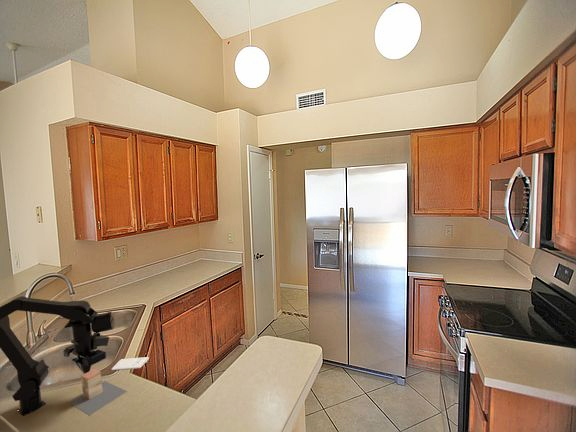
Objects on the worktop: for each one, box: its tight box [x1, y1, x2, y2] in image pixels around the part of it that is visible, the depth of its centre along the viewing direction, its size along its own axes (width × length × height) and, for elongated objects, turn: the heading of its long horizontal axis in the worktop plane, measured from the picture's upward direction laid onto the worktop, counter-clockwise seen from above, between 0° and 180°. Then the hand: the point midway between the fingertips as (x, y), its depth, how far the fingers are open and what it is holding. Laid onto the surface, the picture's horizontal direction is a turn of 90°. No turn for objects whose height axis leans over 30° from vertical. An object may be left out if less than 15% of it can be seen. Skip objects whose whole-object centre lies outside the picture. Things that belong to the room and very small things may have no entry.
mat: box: [67, 380, 128, 416], centre depth 104 cm, size 15×13×1 cm
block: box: [80, 368, 103, 400], centre depth 106 cm, size 4×4×8 cm
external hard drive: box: [110, 356, 150, 371], centre depth 125 cm, size 2×8×12 cm
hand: (87, 375), depth 107 cm, fingers closed
